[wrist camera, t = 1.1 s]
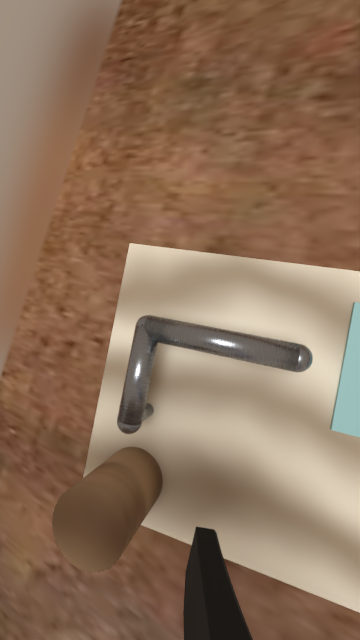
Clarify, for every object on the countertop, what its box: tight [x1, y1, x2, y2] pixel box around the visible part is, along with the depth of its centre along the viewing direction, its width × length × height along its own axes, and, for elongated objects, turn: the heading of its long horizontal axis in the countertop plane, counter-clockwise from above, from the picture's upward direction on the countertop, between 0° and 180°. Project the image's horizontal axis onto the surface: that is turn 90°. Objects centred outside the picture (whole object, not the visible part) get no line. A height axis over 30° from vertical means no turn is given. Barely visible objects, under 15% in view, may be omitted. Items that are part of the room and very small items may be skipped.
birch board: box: [83, 243, 360, 612], centre depth 20 cm, size 20×26×1 cm
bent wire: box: [117, 315, 313, 434], centre depth 19 cm, size 8×11×4 cm
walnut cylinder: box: [52, 447, 163, 572], centre depth 19 cm, size 4×4×6 cm
